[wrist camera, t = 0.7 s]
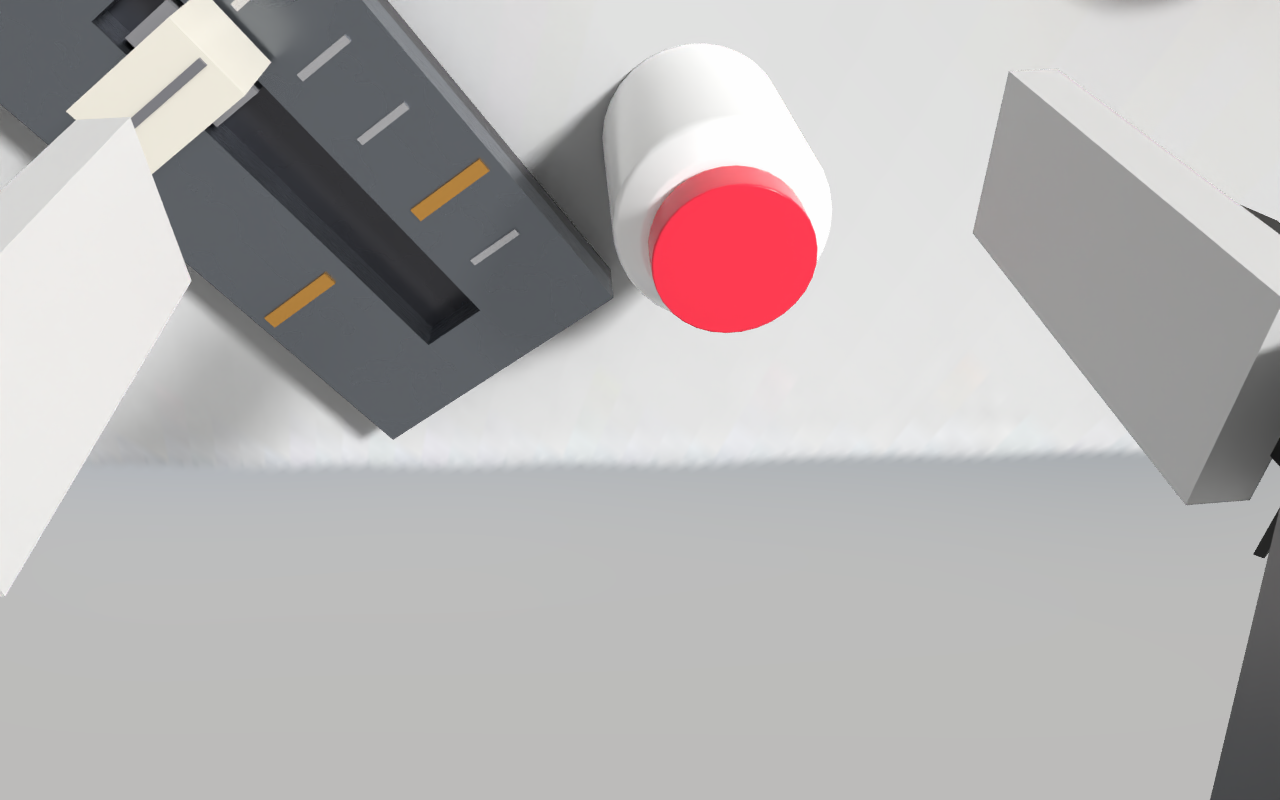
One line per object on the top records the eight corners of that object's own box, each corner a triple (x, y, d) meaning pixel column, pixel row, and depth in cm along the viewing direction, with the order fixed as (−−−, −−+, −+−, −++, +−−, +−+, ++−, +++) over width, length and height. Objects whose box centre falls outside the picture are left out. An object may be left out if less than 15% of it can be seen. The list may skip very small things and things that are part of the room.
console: (-42, 16, 34) (-81, 37, 32) (198, -228, 30) (172, -223, 28) (399, 407, 46) (392, 441, 44) (610, 269, 42) (613, 299, 40)
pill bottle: (820, 139, 39) (897, 264, 30) (683, 253, 42) (717, 397, 33) (706, -1, 35) (756, 96, 27) (563, 134, 38) (567, 261, 29)
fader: (111, 52, 34) (50, 100, 30) (203, -34, 32) (153, 4, 28) (200, 137, 36) (155, 192, 32) (291, 61, 34) (256, 108, 30)
